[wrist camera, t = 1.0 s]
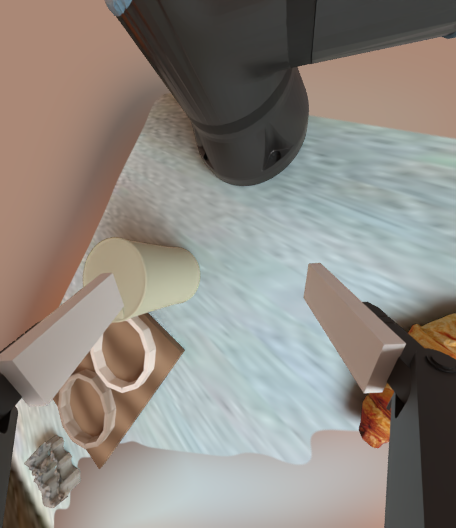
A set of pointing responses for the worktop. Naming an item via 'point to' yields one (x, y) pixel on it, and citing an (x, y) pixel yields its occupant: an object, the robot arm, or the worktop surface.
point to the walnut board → (109, 400)
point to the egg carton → (53, 471)
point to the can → (144, 274)
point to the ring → (148, 362)
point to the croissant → (374, 405)
